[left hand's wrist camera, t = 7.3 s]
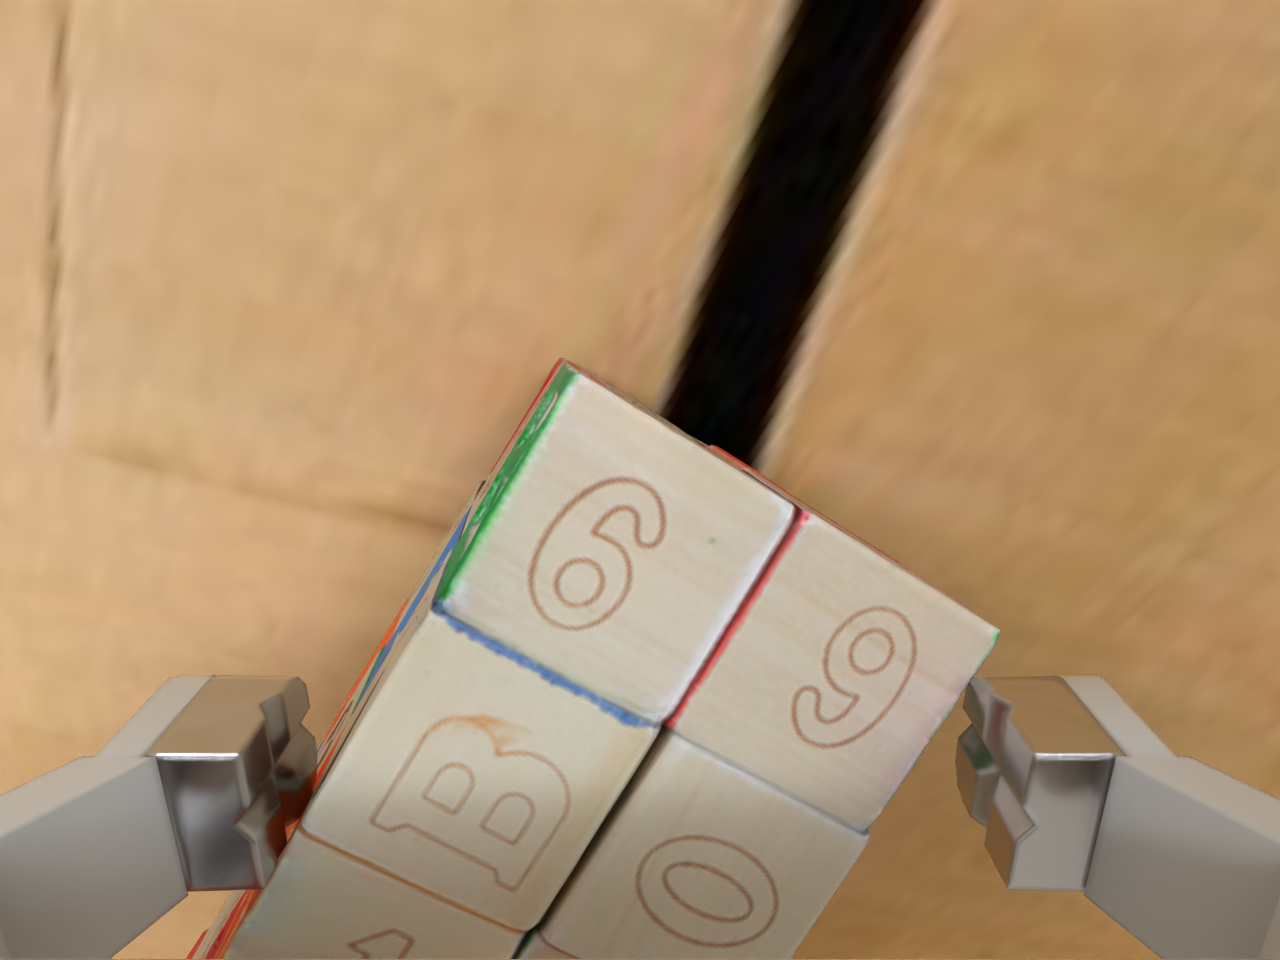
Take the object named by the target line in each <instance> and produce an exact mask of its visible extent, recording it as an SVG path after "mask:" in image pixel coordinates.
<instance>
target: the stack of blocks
mask: <svg viewBox="0 0 1280 960" xmlns="http://www.w3.org/2000/svg"><path fill="white" fill-rule="evenodd" d="M999 634H1000V630H999V629H998V628H996V627H995V626H994V625H992V624H991V623H990V622H988V621H987V620H985V619H984V618H982V617H980V616H979V615H977V614H976V613H974V612H973V611H971V610H970V609H968V608H967V607H965V606H964V605H962V604H960V603H959V602H957V601H956V600H954V599H953V598H951V597H950V596H948V595H947V594H945V593H943V592H942V591H940V590H939V589H937V588H936V587H934V586H933V585H931V584H930V583H928V582H927V581H925V580H924V579H922V578H921V577H919V576H918V575H916V574H915V573H913V572H912V571H910V570H909V569H907V568H905V567H904V566H902V565H901V564H899V562H897V561H896V560H894V559H893V558H891V557H889V556H888V555H886V554H885V553H883V552H881V551H880V550H878V549H877V548H875V547H874V546H872V545H870V544H869V543H867V542H866V541H864V540H862V539H861V538H859V537H858V536H856V535H854V534H853V533H851V532H849V531H848V530H846V529H844V528H843V527H841V526H840V525H839V524H837V523H836V522H834V521H833V520H831V519H829V518H828V517H826V516H824V515H823V514H821V513H820V512H818V511H817V510H815V509H813V508H812V507H810V506H809V505H807V504H805V503H804V502H802V501H801V500H799V499H797V498H796V497H794V496H793V495H791V494H790V493H788V492H787V491H785V490H784V489H782V488H781V487H780V486H778V485H776V484H775V483H773V482H772V481H770V480H768V479H767V478H765V477H764V476H762V475H761V474H760V473H758V472H757V471H755V470H754V469H752V468H751V467H749V466H748V465H746V464H745V463H743V462H742V461H740V460H738V459H737V458H735V457H734V456H732V455H730V454H729V453H727V452H726V451H724V450H722V449H721V448H719V447H717V446H714V445H710V446H708V445H706V444H704V443H702V442H701V441H699V440H697V439H695V438H693V437H692V436H690V435H688V434H686V433H685V432H683V431H682V430H680V429H679V428H678V427H676V426H675V425H673V424H672V423H670V422H669V421H667V420H666V419H664V418H663V417H661V416H659V415H658V414H656V413H655V412H653V411H651V410H650V409H648V408H647V407H645V406H643V405H642V404H640V403H638V402H637V401H635V400H634V399H632V398H630V397H629V396H627V395H626V394H624V393H622V392H621V391H619V390H617V389H616V388H614V387H613V386H611V385H609V384H608V383H606V382H604V381H603V380H601V379H599V378H597V377H596V376H594V375H592V374H591V373H589V372H587V371H586V370H584V369H582V368H581V367H579V366H577V365H576V364H574V363H572V362H570V361H569V360H567V359H564V358H560V359H558V361H557V362H556V364H555V366H554V367H553V369H552V371H551V372H550V374H549V376H548V377H547V379H546V381H545V383H544V384H543V386H542V388H541V389H540V391H539V393H538V394H537V396H536V398H535V400H534V401H533V403H532V405H531V406H530V408H529V410H528V411H527V413H526V415H525V416H524V418H523V419H522V421H521V423H520V424H519V426H518V428H517V429H516V431H515V433H514V435H513V436H512V438H511V440H510V441H509V443H508V444H507V446H506V447H505V449H504V451H503V453H502V455H501V456H500V458H499V460H498V461H497V463H496V464H495V466H494V467H493V469H492V471H491V474H490V476H489V477H488V479H487V480H486V481H482V482H479V484H478V486H477V487H476V489H475V490H474V492H473V494H472V495H471V497H470V499H469V500H468V502H467V503H466V505H465V507H464V508H463V510H462V512H461V513H460V515H459V517H458V518H457V520H456V521H455V523H454V525H453V526H452V528H451V530H450V531H449V533H448V534H447V536H446V538H445V539H444V541H443V543H442V544H441V546H440V548H439V549H438V551H437V552H436V554H435V556H434V557H433V559H432V561H431V562H430V564H429V566H428V567H427V569H426V570H425V572H424V574H423V575H422V577H421V579H420V580H419V582H418V584H417V585H416V587H415V589H414V591H413V593H412V595H411V596H410V597H409V598H408V600H407V601H406V603H405V604H404V606H403V607H402V609H401V610H400V612H399V613H398V615H397V617H396V618H395V620H394V622H393V623H392V625H391V627H390V628H389V630H388V631H387V633H386V635H385V636H384V638H383V640H382V641H381V643H380V644H379V646H378V648H377V649H376V651H375V653H374V654H373V656H372V657H371V659H370V661H369V662H368V664H367V666H366V667H365V669H364V670H363V672H362V674H361V675H360V677H359V679H358V680H357V682H356V683H355V685H354V687H353V688H352V690H351V691H350V693H349V694H348V696H347V698H346V699H345V701H344V703H343V705H342V707H341V709H340V711H339V713H338V715H337V717H336V719H335V721H334V723H333V725H332V727H331V728H330V730H329V732H328V734H327V736H326V738H325V740H324V741H323V743H322V745H321V746H320V748H319V750H318V751H317V777H316V781H315V785H314V790H313V794H312V796H311V798H310V800H309V802H308V804H307V806H306V808H305V810H304V811H303V813H302V815H301V817H300V819H298V820H297V821H295V822H294V823H292V824H291V825H289V826H288V827H287V828H285V830H286V836H287V844H286V846H285V848H284V849H283V851H282V853H281V854H280V856H279V858H278V863H277V866H276V868H275V870H274V872H273V874H272V876H271V878H270V879H269V881H268V883H267V885H266V887H265V889H254V890H232V892H231V893H230V895H229V897H228V898H227V900H226V901H225V903H224V905H223V906H222V908H221V910H220V911H219V913H218V914H217V916H216V918H215V919H214V921H213V923H212V924H211V926H210V928H209V929H207V930H205V931H204V932H203V933H202V935H201V936H200V938H199V940H198V941H197V943H196V944H195V946H194V947H193V949H192V950H191V952H190V953H189V955H188V957H187V958H186V959H791V957H792V956H793V954H794V953H795V951H796V950H797V948H798V947H799V945H800V944H801V942H802V941H803V939H804V938H805V936H806V935H807V933H808V932H809V931H810V929H811V928H812V926H813V925H814V923H815V922H816V920H817V919H818V917H819V916H820V914H821V913H822V911H823V910H824V908H825V907H826V905H827V904H828V902H829V901H830V899H831V898H832V896H833V895H834V893H835V892H836V890H837V889H838V887H839V886H840V884H841V883H842V881H843V880H844V879H845V877H846V876H847V874H848V873H849V871H850V870H851V868H852V867H853V865H854V864H855V862H856V861H857V859H858V858H859V856H860V855H861V853H862V852H863V850H864V848H865V847H866V845H867V843H868V840H869V832H868V827H869V826H870V825H871V824H872V823H873V822H874V821H875V820H876V819H877V818H878V817H879V815H880V814H881V813H882V811H883V810H884V808H885V807H886V805H887V804H888V803H889V801H890V800H891V798H892V797H893V795H894V794H895V792H896V791H897V790H898V788H899V787H900V785H901V784H902V782H903V781H904V779H905V778H906V776H907V775H908V774H909V772H910V771H911V769H912V768H913V766H914V764H915V763H916V761H917V759H918V758H919V756H920V755H921V753H922V751H923V750H924V748H925V747H926V745H927V744H928V743H929V741H930V740H931V739H932V737H933V736H934V734H935V733H936V732H937V730H938V729H939V728H940V726H941V725H942V724H943V722H944V721H945V720H946V719H947V717H948V716H949V715H950V713H951V711H952V709H953V707H954V705H955V703H956V702H957V700H958V698H959V696H960V694H961V693H962V692H963V691H964V690H965V688H966V687H967V686H968V684H969V682H970V680H971V678H973V677H974V675H975V674H976V672H977V671H978V670H979V668H980V667H981V665H982V664H983V662H984V661H985V659H986V658H987V657H988V655H989V654H990V652H991V651H992V649H993V648H994V646H995V644H996V642H997V640H998V637H999Z"/></svg>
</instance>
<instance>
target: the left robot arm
mask: <svg viewBox="0 0 1280 960" xmlns="http://www.w3.org/2000/svg"><path fill="white" fill-rule="evenodd" d="M309 708H310V704H309V699H308V694H307V689H306V684H305V683H304V682H303V681H302V680H301V679H300V678H299V677H283V676H234V675H220V676H216V675H179V676H175V677H171V678H168V680H167V681H166V682H165V683H164V684H163V685H162V686H161V687H160V688H159V689H158V690H157V691H156V692H155V693H154V694H153V695H152V696H151V698H150V699H149V700H148V701H147V702H146V703H145V704H144V705H143V706H142V707H141V708H140V709H139V710H138V711H137V712H136V714H135V715H134V716H133V717H132V718H131V719H130V720H129V721H128V722H127V723H126V724H125V725H124V726H123V727H122V728H121V730H120V731H119V732H118V733H117V734H116V735H115V736H114V737H113V738H112V739H111V740H110V741H109V742H108V743H107V744H106V745H105V747H104V748H103V749H102V750H101V751H100V752H99V753H98V754H97V755H96V756H95V757H80V758H78V759H75V760H73V761H71V762H69V763H67V764H65V765H63V766H61V767H59V768H57V769H54V770H52V771H50V772H48V773H46V774H44V775H42V776H40V777H38V778H35V779H33V780H31V781H29V782H27V783H25V784H23V785H21V786H19V787H17V788H14V789H12V790H10V791H8V792H6V793H4V794H2V795H0V960H1280V800H1279V799H1277V798H1275V797H1273V796H1271V795H1269V794H1267V793H1265V792H1262V791H1260V790H1258V789H1256V788H1254V787H1252V786H1250V785H1248V784H1246V783H1244V782H1242V781H1240V780H1237V779H1235V778H1233V777H1231V776H1229V775H1227V774H1225V773H1223V772H1221V771H1219V770H1217V769H1215V768H1212V767H1210V766H1208V765H1206V764H1204V763H1202V762H1200V761H1198V760H1196V759H1194V758H1192V757H1176V756H1175V755H1174V754H1173V752H1172V751H1171V750H1170V749H1169V748H1168V747H1167V746H1166V745H1165V744H1164V743H1163V742H1162V741H1161V739H1160V738H1159V737H1158V736H1157V735H1156V734H1155V733H1154V732H1153V731H1152V730H1151V729H1150V728H1149V726H1148V725H1147V724H1146V723H1145V722H1144V721H1143V720H1142V719H1141V718H1140V717H1139V716H1138V715H1137V713H1136V712H1135V711H1134V710H1133V709H1132V708H1131V707H1130V706H1129V705H1128V704H1127V703H1126V702H1125V700H1124V699H1123V698H1122V697H1121V696H1120V695H1119V694H1118V693H1117V692H1116V691H1115V690H1114V689H1113V687H1112V686H1111V685H1110V684H1109V683H1108V682H1107V681H1106V680H1105V679H1104V678H1101V677H1099V676H1097V675H1094V674H1091V675H1063V676H1045V677H1000V678H971V680H970V682H969V684H968V686H967V688H966V692H965V698H964V703H963V708H964V710H965V712H966V713H967V715H968V717H969V718H970V720H971V722H972V724H971V725H970V726H969V727H968V728H967V729H966V730H965V731H964V732H963V733H962V734H961V735H960V736H959V738H958V743H957V752H956V761H955V762H956V773H957V783H958V787H959V791H960V794H961V797H962V801H963V803H964V805H965V807H966V809H967V811H968V813H969V815H970V817H972V818H973V819H975V820H976V821H977V822H979V823H980V824H982V825H983V826H985V827H986V828H987V833H986V839H985V847H986V848H987V850H988V852H989V854H990V856H991V858H992V860H993V862H994V864H995V866H996V868H997V870H998V871H999V873H1000V875H1001V877H1002V879H1003V881H1004V883H1005V885H1006V887H1007V889H1016V890H1051V891H1084V896H1086V897H1087V898H1088V899H1089V900H1091V901H1092V902H1093V903H1094V904H1095V905H1097V906H1098V907H1099V908H1100V909H1101V910H1103V911H1104V912H1105V913H1106V914H1108V915H1109V916H1110V917H1111V918H1112V919H1114V920H1115V921H1116V922H1117V923H1119V924H1120V925H1121V926H1122V927H1123V928H1125V929H1126V930H1127V931H1128V932H1130V933H1131V934H1132V935H1133V936H1134V937H1136V938H1137V939H1138V940H1139V941H1140V942H1142V943H1143V944H1144V945H1145V946H1147V947H1148V948H1149V949H1150V950H1151V951H1153V952H1154V953H1155V954H1156V955H1158V956H1159V957H1160V958H1161V959H110V958H112V957H113V956H114V955H115V954H116V953H118V952H119V951H120V950H121V949H123V948H124V947H125V946H126V945H128V944H129V943H130V942H131V941H132V940H134V939H135V938H136V937H137V936H139V935H140V934H141V933H142V932H144V931H145V930H146V929H147V928H148V927H150V926H151V925H152V924H153V923H155V922H156V921H157V920H158V919H160V918H161V917H162V916H163V915H164V914H166V913H167V912H168V911H169V910H171V909H172V908H173V907H174V906H176V905H177V904H178V903H179V902H181V901H182V900H183V899H184V898H185V897H187V896H188V892H187V891H219V890H254V889H265V887H266V885H267V883H268V881H269V879H270V878H271V876H272V874H273V872H274V870H275V868H276V866H277V863H278V858H279V856H280V854H281V853H282V851H283V849H284V848H285V846H286V844H287V836H286V830H285V828H287V827H288V826H289V825H291V824H292V823H294V822H295V821H297V820H298V819H300V817H301V815H302V813H303V811H304V810H305V808H306V806H307V804H308V802H309V800H310V798H311V796H312V794H313V790H314V785H315V781H316V777H317V749H316V742H315V737H314V736H313V735H312V734H311V733H310V732H309V731H308V730H307V729H306V728H305V727H304V726H303V725H302V724H301V721H302V720H303V718H304V716H305V715H306V713H307V711H308V710H309Z"/></svg>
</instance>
